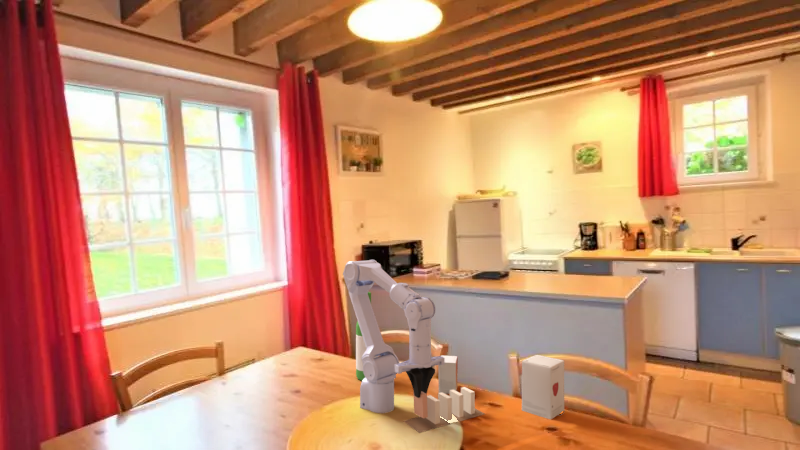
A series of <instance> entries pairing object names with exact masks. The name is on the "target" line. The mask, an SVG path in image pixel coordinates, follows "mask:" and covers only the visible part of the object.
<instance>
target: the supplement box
mask: <svg viewBox="0 0 800 450" xmlns="http://www.w3.org/2000/svg"><path fill="white" fill-rule="evenodd" d="M521 411H522V412H525V413H529V414H531V415H534V416H538V417H541V418H544V419H548V420H552V419H554V418H555V417H557V416H560V415H559V414H560V413H561V412H562V411H564V412H565V360H563V359H559V358H555V357H549V356H545V355H540V354H535V355H533V356H532V355H531V356H530V357H528V358H526V359H523V360H522V361H521Z"/></svg>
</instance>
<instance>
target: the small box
mask: <svg viewBox="0 0 800 450" xmlns="http://www.w3.org/2000/svg"><path fill="white" fill-rule="evenodd" d="M440 356H442V357H444V358H445V365H437V366H438V393H441V392H443V393H444V394H446V395H448V394H449V395H450V390H455V391H457V392H458V388H459V387H458V385H459V384H458V383H459V382H458V378H459V375H458V373H459V371H458V368H459V367H458V365H459V364H458V362H459V361H458V359H459V358H458V357H459V356H456V355H440Z"/></svg>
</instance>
